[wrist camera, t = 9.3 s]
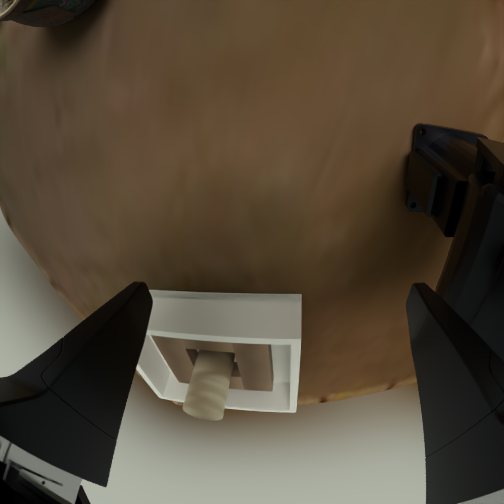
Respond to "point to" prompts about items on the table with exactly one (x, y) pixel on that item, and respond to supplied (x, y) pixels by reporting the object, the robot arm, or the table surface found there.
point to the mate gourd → (42, 11)
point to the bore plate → (247, 355)
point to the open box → (228, 340)
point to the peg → (209, 385)
